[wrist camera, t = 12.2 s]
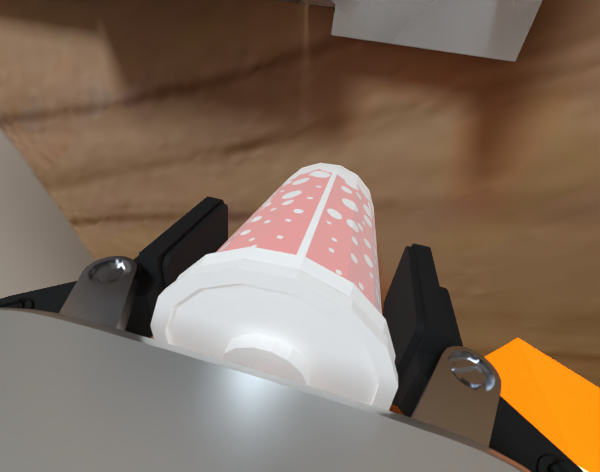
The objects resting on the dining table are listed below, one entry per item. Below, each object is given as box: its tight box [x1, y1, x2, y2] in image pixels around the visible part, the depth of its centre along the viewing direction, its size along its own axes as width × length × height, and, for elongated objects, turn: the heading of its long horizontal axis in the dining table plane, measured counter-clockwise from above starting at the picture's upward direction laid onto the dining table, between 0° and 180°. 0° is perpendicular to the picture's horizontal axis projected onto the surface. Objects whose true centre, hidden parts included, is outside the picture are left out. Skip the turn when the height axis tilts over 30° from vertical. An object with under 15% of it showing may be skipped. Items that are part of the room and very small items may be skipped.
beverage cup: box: [150, 163, 398, 411], centre depth 9 cm, size 6×6×14 cm
